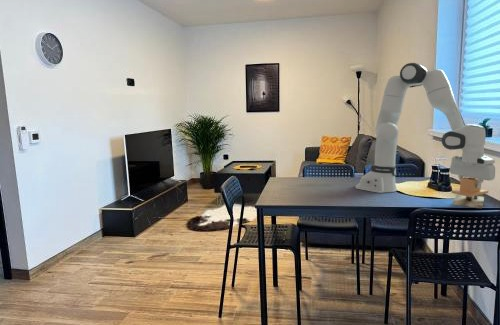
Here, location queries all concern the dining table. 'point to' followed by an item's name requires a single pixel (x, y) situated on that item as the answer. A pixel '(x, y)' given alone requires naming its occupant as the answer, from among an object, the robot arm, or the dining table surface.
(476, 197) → the pins
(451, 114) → the robot arm
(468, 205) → the post base
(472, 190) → the flange plate
